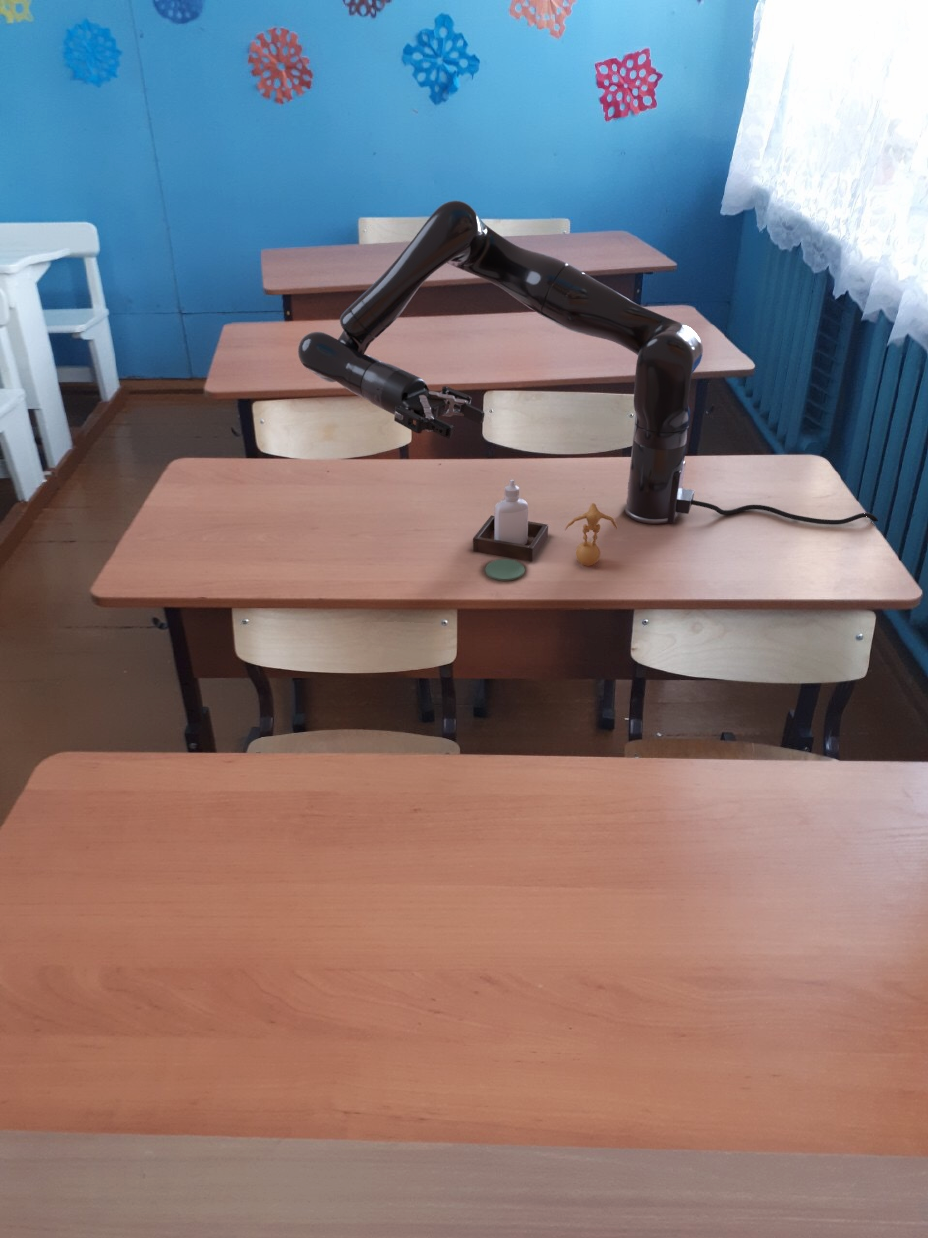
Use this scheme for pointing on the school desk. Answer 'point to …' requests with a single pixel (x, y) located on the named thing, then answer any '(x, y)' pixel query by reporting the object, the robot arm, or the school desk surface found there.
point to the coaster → (504, 570)
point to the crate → (508, 548)
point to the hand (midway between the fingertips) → (467, 425)
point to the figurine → (589, 550)
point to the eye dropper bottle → (511, 517)
